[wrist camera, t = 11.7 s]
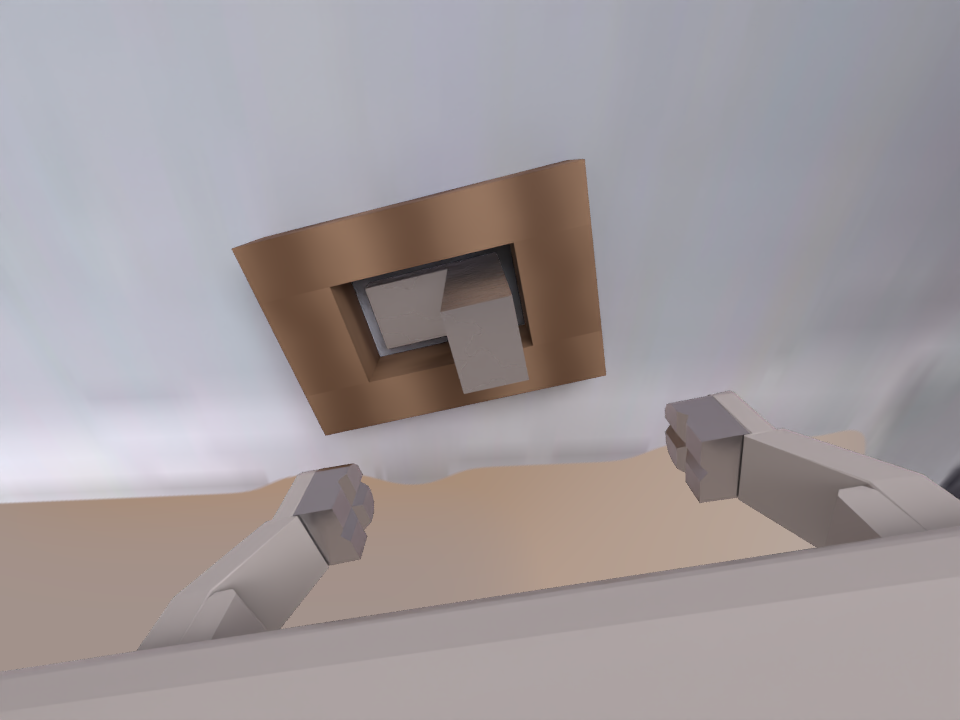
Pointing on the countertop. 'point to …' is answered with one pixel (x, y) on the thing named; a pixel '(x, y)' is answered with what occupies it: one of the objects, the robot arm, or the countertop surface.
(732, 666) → the robot arm
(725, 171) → the countertop surface
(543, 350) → the well block
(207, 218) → the countertop surface
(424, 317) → the angle bracket
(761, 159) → the countertop surface
